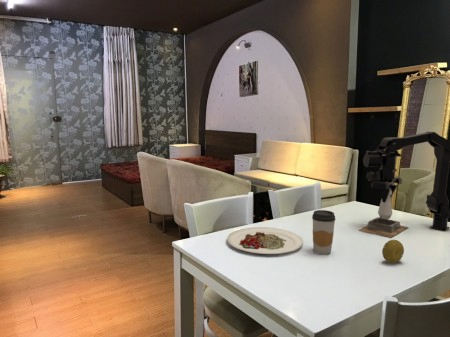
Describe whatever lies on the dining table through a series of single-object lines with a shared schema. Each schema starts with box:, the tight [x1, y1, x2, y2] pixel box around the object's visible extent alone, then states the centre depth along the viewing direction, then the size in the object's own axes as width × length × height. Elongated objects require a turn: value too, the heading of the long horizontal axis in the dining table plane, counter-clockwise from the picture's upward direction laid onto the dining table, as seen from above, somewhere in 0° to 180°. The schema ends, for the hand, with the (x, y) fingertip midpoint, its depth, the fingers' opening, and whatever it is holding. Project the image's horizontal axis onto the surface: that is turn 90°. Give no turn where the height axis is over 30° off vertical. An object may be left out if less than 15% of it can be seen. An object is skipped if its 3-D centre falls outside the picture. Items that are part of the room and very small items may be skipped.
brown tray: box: [358, 216, 409, 239], centre depth 160 cm, size 20×14×4 cm
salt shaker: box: [377, 191, 393, 220], centre depth 158 cm, size 6×6×13 cm
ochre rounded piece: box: [381, 239, 405, 264], centre depth 123 cm, size 8×4×8 cm, turn 110°
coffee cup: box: [311, 209, 336, 256], centre depth 132 cm, size 8×8×15 cm
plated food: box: [226, 226, 304, 255], centre depth 142 cm, size 30×30×3 cm
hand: (385, 201), depth 158 cm, fingers closed on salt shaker, 4 cm apart
